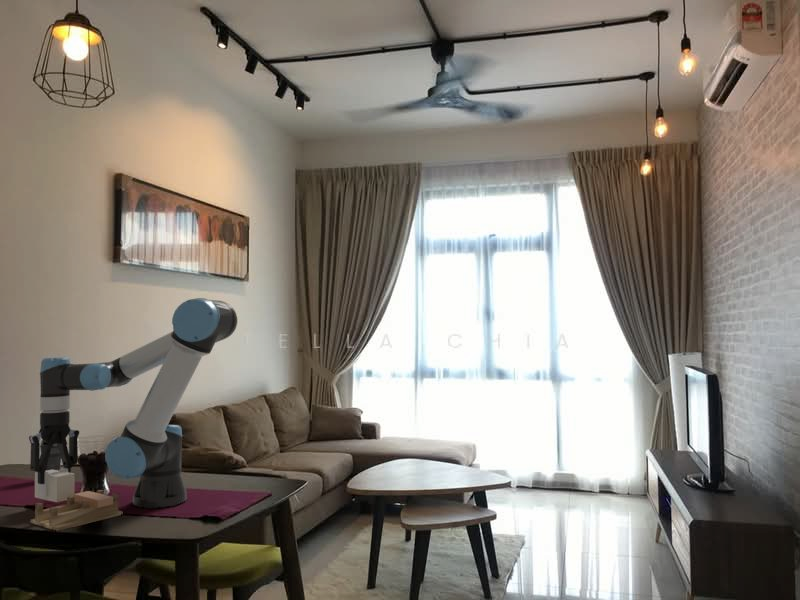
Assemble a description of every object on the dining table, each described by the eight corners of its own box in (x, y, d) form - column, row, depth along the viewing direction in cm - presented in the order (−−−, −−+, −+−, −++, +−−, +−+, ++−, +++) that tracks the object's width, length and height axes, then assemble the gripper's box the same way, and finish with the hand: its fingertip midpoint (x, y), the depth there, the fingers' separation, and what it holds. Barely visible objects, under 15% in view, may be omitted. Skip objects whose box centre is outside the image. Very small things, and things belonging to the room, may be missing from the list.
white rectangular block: (74, 498, 183) (74, 473, 183) (56, 502, 179) (57, 476, 179) (52, 493, 190) (52, 469, 190) (34, 497, 186) (34, 472, 186)
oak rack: (122, 514, 179) (123, 495, 180) (57, 531, 164) (57, 509, 164) (95, 507, 187) (96, 488, 187) (30, 522, 171) (31, 502, 171)
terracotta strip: (113, 504, 178) (113, 496, 178) (98, 507, 174) (98, 500, 174) (88, 498, 184) (88, 490, 184) (73, 501, 180) (73, 494, 181)
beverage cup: (48, 477, 225) (50, 419, 226) (67, 477, 224) (69, 419, 225) (33, 481, 218) (35, 422, 219) (53, 482, 217) (55, 422, 218)
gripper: (77, 407, 195) (77, 485, 194) (15, 414, 180) (14, 498, 179) (92, 408, 191) (91, 487, 190) (29, 415, 176) (28, 501, 175)
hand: (54, 492), depth 184 cm, fingers closed on white rectangular block, 5 cm apart
